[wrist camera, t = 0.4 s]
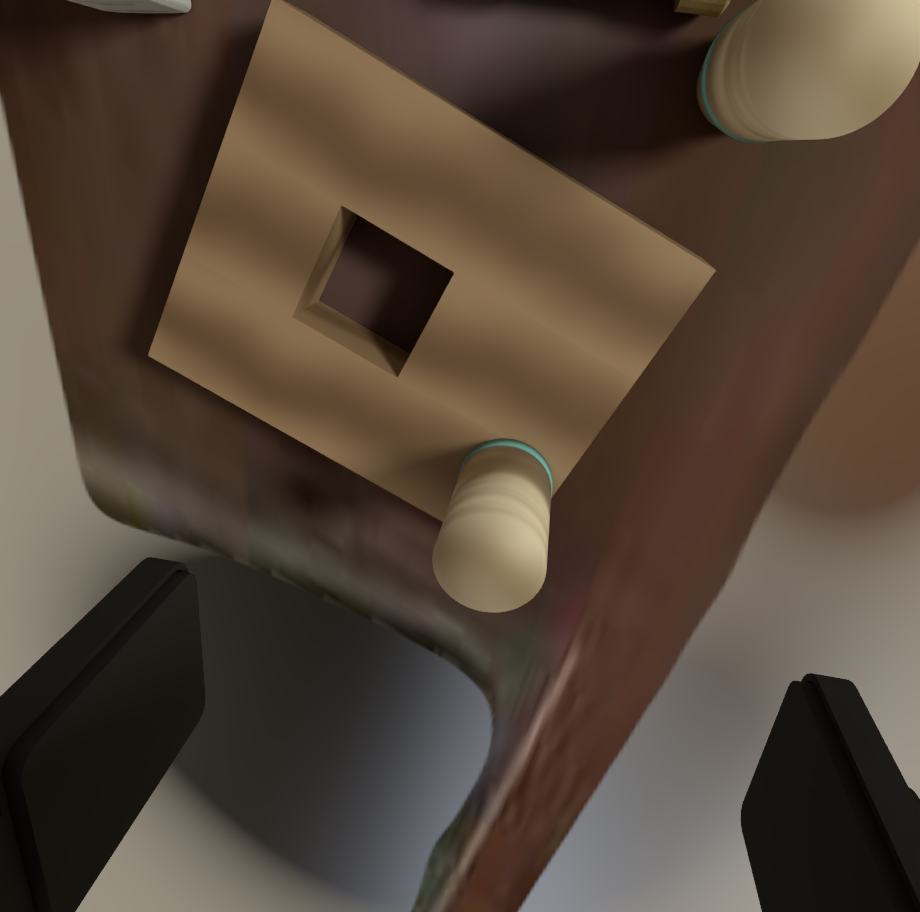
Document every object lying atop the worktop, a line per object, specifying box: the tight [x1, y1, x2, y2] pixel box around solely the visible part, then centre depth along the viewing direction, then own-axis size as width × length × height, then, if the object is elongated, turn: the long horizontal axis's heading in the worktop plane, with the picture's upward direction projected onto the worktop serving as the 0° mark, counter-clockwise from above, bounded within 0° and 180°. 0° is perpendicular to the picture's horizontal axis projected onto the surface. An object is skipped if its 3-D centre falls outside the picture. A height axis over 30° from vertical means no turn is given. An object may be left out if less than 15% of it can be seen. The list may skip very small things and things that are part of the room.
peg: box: [696, 0, 920, 143], centre depth 25 cm, size 5×5×12 cm
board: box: [148, 0, 716, 612], centre depth 32 cm, size 18×22×12 cm
